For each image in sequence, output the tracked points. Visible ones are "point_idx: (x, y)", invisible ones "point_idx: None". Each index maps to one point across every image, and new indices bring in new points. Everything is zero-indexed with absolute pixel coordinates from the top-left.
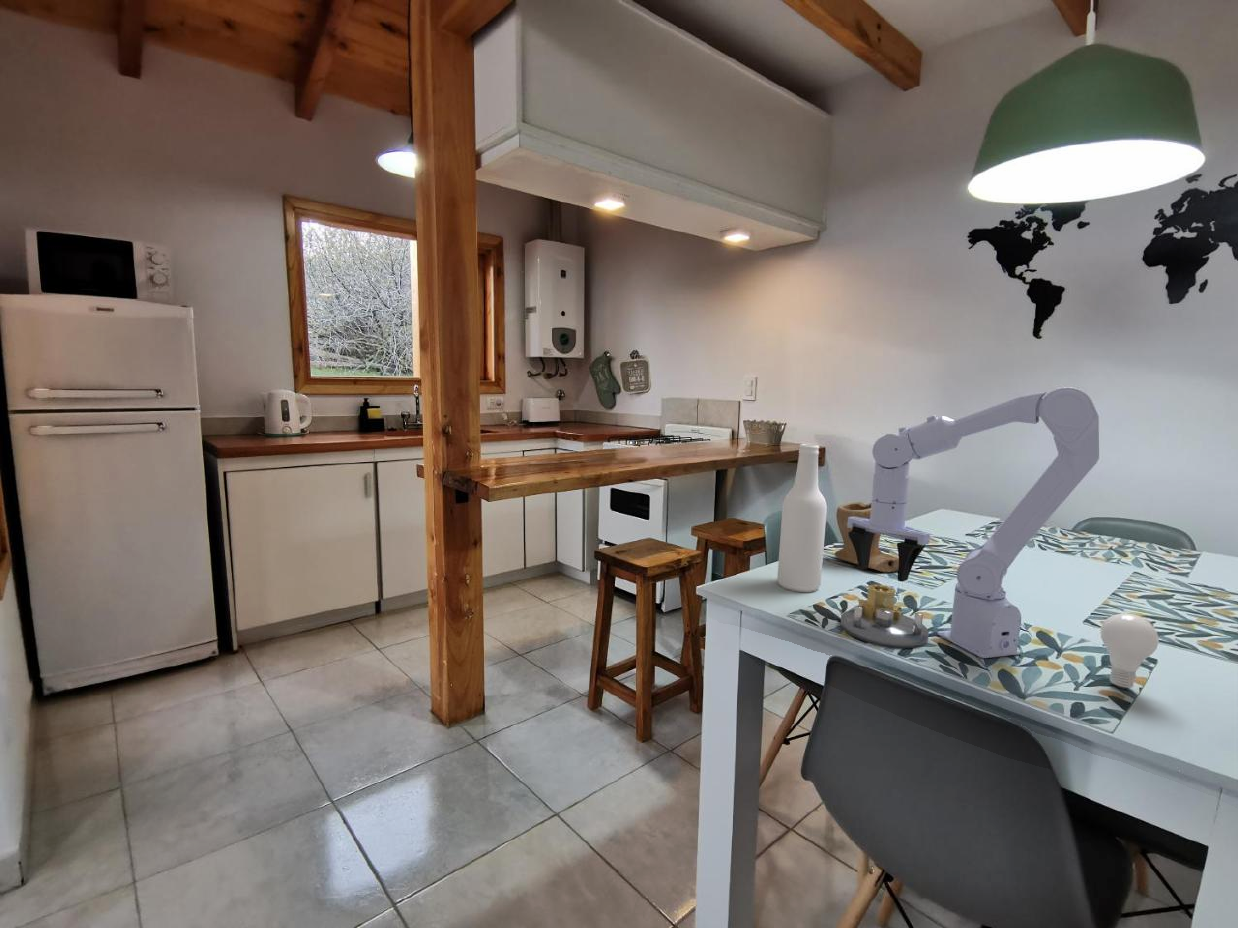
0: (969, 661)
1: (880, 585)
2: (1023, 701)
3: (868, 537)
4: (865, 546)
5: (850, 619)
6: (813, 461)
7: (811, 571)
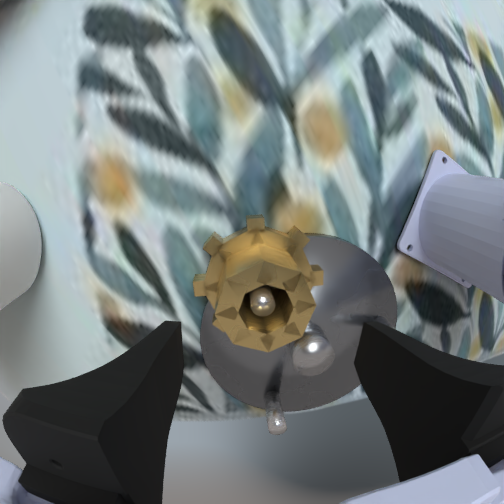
0: (452, 312)
1: (243, 279)
2: (490, 355)
3: (141, 460)
4: (157, 430)
5: (239, 378)
6: None
7: (10, 282)
